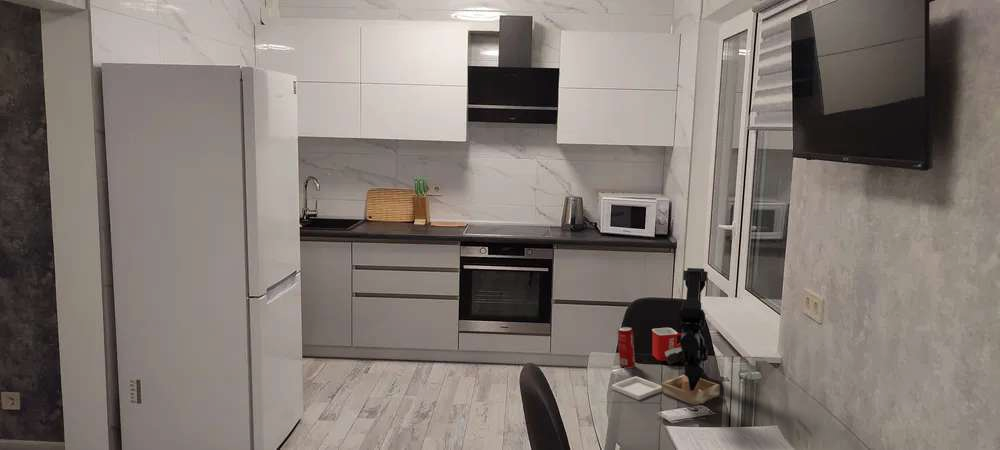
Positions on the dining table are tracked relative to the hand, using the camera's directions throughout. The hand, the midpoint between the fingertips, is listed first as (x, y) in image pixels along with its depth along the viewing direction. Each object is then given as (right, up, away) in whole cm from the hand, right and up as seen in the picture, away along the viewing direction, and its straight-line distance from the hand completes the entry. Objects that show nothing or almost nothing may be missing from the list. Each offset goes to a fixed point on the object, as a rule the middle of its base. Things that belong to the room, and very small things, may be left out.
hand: (690, 385), depth 234 cm
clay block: (0, -2, 0) cm, 2 cm away
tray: (-17, -3, +5) cm, 18 cm away
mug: (+2, +2, +38) cm, 38 cm away
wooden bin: (0, -3, 0) cm, 3 cm away
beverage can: (-16, +1, +29) cm, 33 cm away
